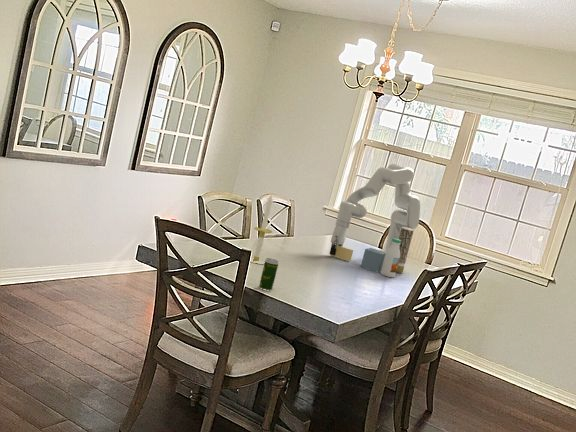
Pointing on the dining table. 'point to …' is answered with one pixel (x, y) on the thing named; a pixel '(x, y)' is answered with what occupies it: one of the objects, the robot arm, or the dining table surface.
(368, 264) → the dispenser
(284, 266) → the dining table surface
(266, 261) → the beer can
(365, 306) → the dining table surface
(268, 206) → the toy sword
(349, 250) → the tall yellow upright plank
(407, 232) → the paper tube
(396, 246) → the milk bottle
